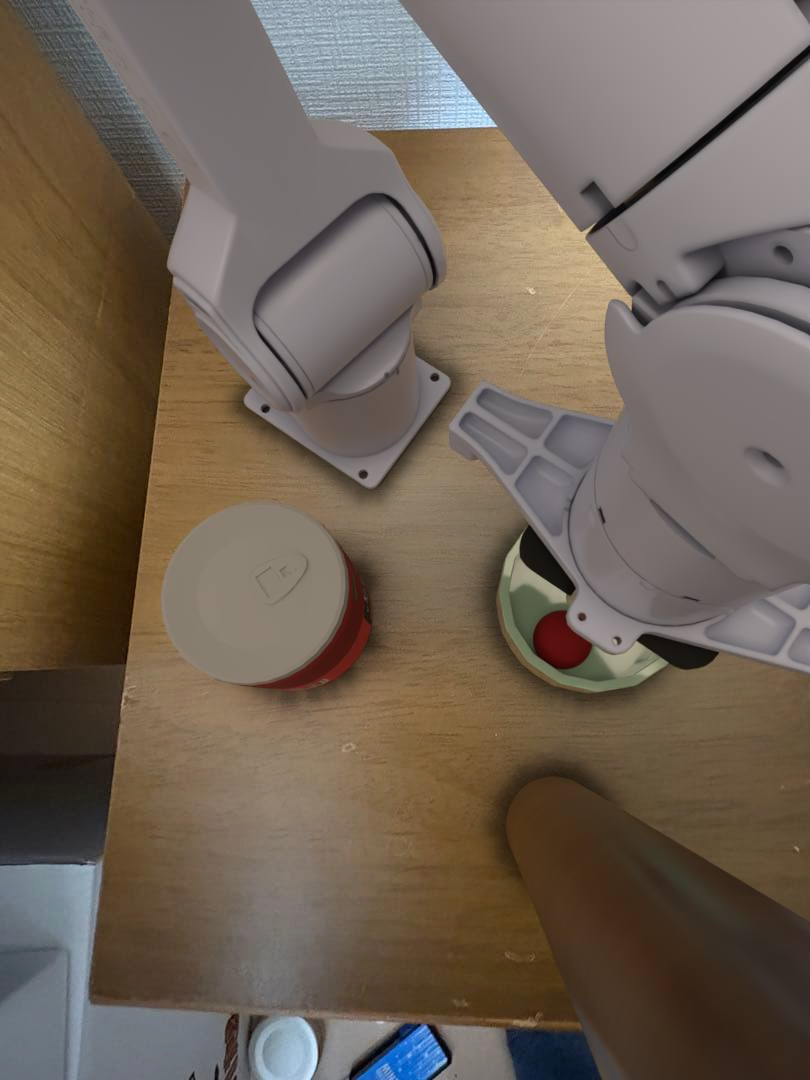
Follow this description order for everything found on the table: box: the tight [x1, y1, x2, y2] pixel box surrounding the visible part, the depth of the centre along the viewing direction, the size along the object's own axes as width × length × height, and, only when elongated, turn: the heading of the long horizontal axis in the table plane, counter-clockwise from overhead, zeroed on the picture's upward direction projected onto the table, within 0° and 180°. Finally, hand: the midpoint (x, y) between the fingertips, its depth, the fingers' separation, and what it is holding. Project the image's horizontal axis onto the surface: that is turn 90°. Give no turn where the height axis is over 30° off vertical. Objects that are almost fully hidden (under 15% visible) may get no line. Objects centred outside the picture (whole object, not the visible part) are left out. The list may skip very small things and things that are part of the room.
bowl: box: [495, 525, 670, 694], centre depth 41 cm, size 9×9×4 cm
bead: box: [533, 610, 593, 669], centre depth 40 cm, size 3×3×3 cm
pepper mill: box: [505, 775, 810, 1080], centre depth 21 cm, size 5×5×40 cm
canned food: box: [160, 500, 373, 692], centre depth 38 cm, size 8×8×11 cm
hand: (608, 580), depth 32 cm, fingers closed
